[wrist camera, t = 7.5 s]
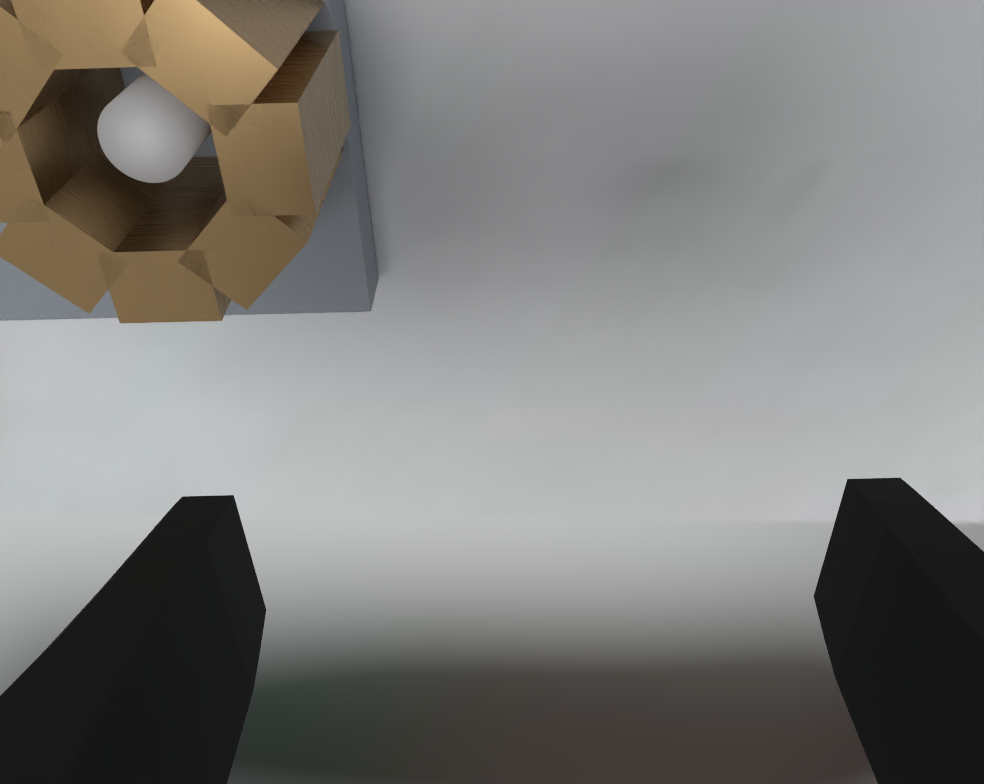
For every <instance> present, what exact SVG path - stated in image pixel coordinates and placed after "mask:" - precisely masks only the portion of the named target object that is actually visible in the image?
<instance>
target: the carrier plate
mask: <svg viewBox="0 0 984 784" xmlns="http://www.w3.org/2000/svg"><path fill="white" fill-rule="evenodd" d="M322 1H323V2H324V4H323V6H322V7H321V9H320V10H319V12H318V13H317V14H316V16H315V17H314V19H313V20H312V22H311V23H310V25H309V26H308V27H307V29H306V30H305V31H328V30H339V35H340V43H341V51H342V59H343V66H344V74H345V82H346V90H347V97H348V105H349V113H350V121H351V126H350V128H349V131H348V133H347V136H346V138H345V141H344V143H343V146H342V147H343V148H344V150H343V153H342V155H341V158H340V160H339V163H338V166H337V168H336V171H335V173H334V176H333V178H332V181H331V184H330V186H329V189H328V191H327V194H326V197H325V199H324V202H323V204H322V207H321V210H320V212H319V215H318V217H317V220H316V223H315V225H314V228H313V230H312V233H311V235H310V238H309V241H308V243H307V244H306V245H305V246H304V247H303V248H302V249H301V250H300V251H299V253H298V254H297V255H296V256H295V257H294V258H293V259H292V260H291V261H290V263H289V264H288V265H287V266H286V267H285V268H284V269H283V270H282V271H281V273H280V274H279V275H278V276H277V277H276V278H275V279H274V280H273V282H272V283H271V284H270V285H269V286H268V287H267V288H266V289H265V290H264V292H263V293H262V294H261V295H260V296H259V297H258V298H257V299H256V300H255V302H254V303H253V304H252V305H251V306H250V307H249V308H248V309H247V310H246V309H244V308H243V307H241V306H240V305H239V304H237V303H236V302H234V301H233V300H231V302H230V304H229V306H228V308H227V310H226V313H225V315H244V314H284V313H324V312H364V311H371V308H372V304H373V299H374V295H375V290H376V286H377V282H378V271H377V263H376V255H375V247H374V239H373V231H372V223H371V215H370V207H369V199H368V191H367V182H366V174H365V166H364V158H363V150H362V142H361V134H360V126H359V118H358V110H357V102H356V94H355V86H354V77H353V69H352V61H351V53H350V45H349V37H348V29H347V21H346V13H345V5H344V0H322ZM120 70H121V74H122V78H123V81H124V85H125V88H126V89H124V90H123V91H122V92H121V93H120V94H119V95H118V96H117V97H115V98H114V99H113V100H112V101H111V102H110V103H109V104H108V105H107V106H106V107H105V108H104V109H103V111H102V112H101V114H100V117H99V120H98V125H97V132H98V139H99V142H100V145H101V148H102V150H103V152H104V153H105V155H106V156H107V158H108V159H109V160H110V162H111V163H112V164H113V165H114V166H115V167H116V168H117V169H119V170H120V171H121V172H122V173H124V174H126V175H127V176H129V177H131V178H133V179H136V180H139V181H142V182H148V183H161V182H165V181H168V180H171V179H172V178H174V177H176V176H177V175H178V174H179V173H180V172H181V171H182V170H183V169H184V167H185V166H186V165H187V163H188V162H189V161H190V160H191V158H192V157H209V156H217V153H216V148H215V144H214V140H213V135H212V131H211V126H210V124H209V123H208V122H207V121H205V120H204V119H203V118H202V117H200V116H199V115H198V114H196V113H195V112H194V111H193V110H191V109H190V108H189V107H188V106H186V105H185V104H184V103H182V102H181V101H180V100H179V99H177V98H176V97H175V96H174V95H172V94H171V93H170V92H169V91H167V90H166V89H165V88H163V87H162V86H161V85H160V84H158V83H157V82H156V81H155V80H153V79H152V78H151V77H150V76H148V75H147V74H146V73H144V72H143V71H142V70H141V69H139V68H138V67H121V68H120ZM6 225H7V223H0V234H1V233H2V231H3V230H4V228H5V226H6ZM83 318H118V316H117V313H116V310H115V307H114V304H113V301H112V298H111V295H110V292H109V289H108V290H107V292H106V293H105V294H104V296H103V297H102V298H101V299H100V301H99V302H98V303H97V305H96V306H95V307H94V309H93V310H92V311H91V312H90V314H88V313H87V312H85V311H84V310H82V309H81V308H79V307H78V306H76V305H74V304H73V303H71V302H70V301H68V300H67V299H65V298H64V297H62V296H60V295H59V294H57V293H56V292H54V291H53V290H51V289H50V288H48V287H46V286H45V285H43V284H42V283H40V282H39V281H37V280H35V279H34V278H32V277H31V276H29V275H28V274H26V273H25V272H23V271H21V270H20V269H18V268H17V267H15V266H14V265H12V264H11V263H9V262H7V261H6V260H4V259H3V258H1V257H0V321H3V320H43V319H83Z"/></svg>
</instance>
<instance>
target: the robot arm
mask: <svg viewBox="0 0 984 784" xmlns="http://www.w3.org/2000/svg"><path fill="white" fill-rule="evenodd" d="M814 599H815V603H816V607H817V611H818V615H819V619H820V622H821V627H822V631H823V635H824V639H825V643H826V646H827V650H828V653H829V657H830V660H831V663H832V667H833V671H834V674H835V678H836V680H837V683H838V686H839V688H840V691H841V693H842V696H843V698H844V701H845V703H846V706H847V708H848V711H849V713H850V716H851V718H852V721H853V723H854V726H855V728H856V731H857V733H858V736H859V738H860V741H861V743H862V746H863V748H864V750H865V753H866V755H867V758H868V760H869V763H870V765H871V768H872V770H873V773H874V775H875V777H876V780H877V782H878V784H984V552H983V551H982V550H981V549H980V548H979V547H978V546H977V545H975V544H974V543H973V542H972V541H971V540H970V539H969V538H968V537H967V536H965V535H964V534H963V533H962V532H961V531H960V530H959V529H958V528H956V527H955V526H954V525H953V524H952V523H951V522H950V521H949V520H948V519H947V518H945V517H944V516H943V515H942V514H941V513H940V512H939V511H938V510H937V509H935V508H934V507H933V506H932V505H931V504H930V503H929V502H928V501H926V500H925V499H924V498H923V497H922V496H921V495H920V494H918V493H917V492H916V491H915V490H914V489H913V488H912V487H910V486H909V485H908V484H907V483H906V482H905V481H903V480H902V479H901V478H874V479H847V483H846V486H845V490H844V493H843V497H842V500H841V504H840V507H839V510H838V514H837V517H836V521H835V524H834V528H833V532H832V535H831V539H830V542H829V545H828V549H827V552H826V556H825V559H824V563H823V566H822V569H821V573H820V576H819V580H818V583H817V587H816V591H815V594H814ZM265 614H266V608H265V604H264V601H263V597H262V594H261V590H260V586H259V583H258V579H257V576H256V573H255V569H254V565H253V562H252V558H251V555H250V551H249V548H248V544H247V541H246V537H245V534H244V530H243V527H242V524H241V520H240V516H239V513H238V509H237V506H236V502H235V499H234V495H228V496H190V497H182V498H181V499H180V500H179V501H178V502H177V503H176V504H175V505H174V506H173V507H172V508H171V509H170V511H169V512H168V513H167V514H166V515H165V516H164V517H163V518H162V520H161V521H160V522H159V523H158V524H157V525H156V526H155V528H154V529H153V530H152V531H151V532H150V533H149V535H148V536H147V537H146V538H145V539H144V540H143V541H142V543H141V544H140V545H139V546H138V547H137V549H136V550H135V551H134V552H133V553H132V554H131V555H130V557H129V558H128V559H127V560H126V561H125V562H124V563H123V565H122V566H121V567H120V568H119V569H118V570H117V571H116V573H115V574H114V575H113V576H112V577H111V578H110V580H108V582H107V583H106V584H105V585H104V586H103V587H102V589H101V590H100V591H99V592H98V593H97V594H96V595H95V596H94V597H93V598H92V600H91V601H90V602H89V603H88V604H87V605H86V606H85V607H84V608H83V609H82V611H81V612H80V613H79V614H78V615H77V616H76V617H75V618H74V619H73V621H72V622H71V623H70V624H69V625H68V626H67V627H66V628H65V629H64V630H63V631H62V633H61V634H60V635H59V636H58V637H57V638H56V639H55V640H54V641H53V642H52V644H51V645H50V646H49V647H48V648H47V649H46V650H45V651H44V652H43V653H42V654H41V655H40V656H39V657H38V658H37V659H36V660H35V661H34V662H33V663H32V664H31V665H30V666H29V667H28V668H27V669H26V670H25V671H24V672H23V673H22V674H21V675H20V677H18V679H16V681H15V682H14V683H13V684H12V685H11V686H10V687H9V688H8V689H7V690H6V691H5V692H4V693H3V694H2V695H1V696H0V784H227V781H228V777H229V774H230V771H231V767H232V764H233V760H234V757H235V753H236V750H237V746H238V743H239V739H240V736H241V732H242V729H243V725H244V722H245V718H246V715H247V711H248V707H249V704H250V700H251V696H252V693H253V688H254V683H255V677H256V671H257V665H258V660H259V654H260V647H261V640H262V634H263V627H264V620H265Z"/></svg>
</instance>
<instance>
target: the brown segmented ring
mask: <svg viewBox="0 0 984 784" xmlns="http://www.w3.org/2000/svg"><path fill="white" fill-rule="evenodd" d="M323 4H324V2H323V1H322V0H0V223H7V225H6V226H5V228H4V230H3V231H2V233H1V234H0V257H1V258H3V259H4V260H6V261H7V262H9V263H11V264H12V265H14V266H15V267H17V268H18V269H20V270H21V271H23V272H25V273H26V274H28V275H29V276H31V277H32V278H34V279H35V280H37V281H39V282H40V283H42V284H43V285H45V286H46V287H48V288H50V289H51V290H53V291H54V292H56V293H57V294H59V295H60V296H62V297H64V298H65V299H67V300H68V301H70V302H71V303H73V304H74V305H76V306H78V307H79V308H81V309H82V310H84V311H85V312H87V313H88V314H90V312H91V311H92V310H93V309H94V307H95V306H96V305H97V303H98V302H99V301H100V299H101V298H102V297H103V296H104V294H105V293H106V292H107V290H108V289H109V292H110V295H111V298H112V301H113V304H114V307H115V310H116V313H117V316H118V319H119V321H120V323H146V322H187V321H222V319H223V317H224V315H225V313H226V310H227V308H228V306H229V304H230V302H231V300H233V301H234V302H236V303H237V304H239V305H240V306H241V307H243V308H244V309H246V310H247V309H248V308H249V307H250V306H251V305H252V304H253V303H254V302H255V300H256V299H257V298H258V297H259V296H260V295H261V294H262V293H263V292H264V290H265V289H266V288H267V287H268V286H269V285H270V284H271V283H272V282H273V280H274V279H275V278H276V277H277V276H278V275H279V274H280V273H281V271H282V270H283V269H284V268H285V267H286V266H287V265H288V264H289V263H290V261H291V260H292V259H293V258H294V257H295V256H296V255H297V254H298V253H299V251H300V250H301V249H302V248H303V247H304V246H305V245H306V244H307V243H308V241H309V238H310V235H311V233H312V230H313V228H314V225H315V223H316V220H317V217H318V215H319V212H320V210H321V207H322V204H323V202H324V199H325V197H326V194H327V191H328V189H329V186H330V184H331V181H332V178H333V176H334V173H335V171H336V168H337V166H338V163H339V160H340V158H341V155H342V153H343V150H344V148H343V147H342V146H343V143H344V141H345V138H346V136H347V133H348V131H349V128H350V126H351V121H350V113H349V105H348V97H347V90H346V82H345V74H344V66H343V59H342V51H341V43H340V35H339V30H328V31H305V30H306V29H307V27H308V26H309V25H310V23H311V22H312V20H313V19H314V17H315V16H316V14H317V13H318V12H319V10H320V9H321V7H322V6H323ZM121 67H138V68H139V69H141V70H142V71H143V72H144V73H146V74H147V75H148V76H150V77H151V78H152V79H153V80H155V81H156V82H157V83H158V84H160V85H161V86H162V87H163V88H165V89H166V90H167V91H169V92H170V93H171V94H172V95H174V96H175V97H176V98H177V99H179V100H180V101H181V102H182V103H184V104H185V105H186V106H188V107H189V108H190V109H191V110H193V111H194V112H195V113H196V114H198V115H199V116H200V117H202V118H203V119H204V120H205V121H207V122H208V123H209V124H210V126H211V131H212V135H213V140H214V144H215V148H216V153H217V156H209V157H192V158H191V160H190V161H189V162H188V163H187V165H186V166H185V167H184V169H183V170H182V171H181V172H180V173H179V174H178V175H177V176H176V177H174V178H172V179H171V180H168V181H165V182H161V183H148V182H142V181H139V180H136V179H133V178H131V177H129V176H127V175H126V174H124V173H122V172H121V171H120V170H119V169H117V168H116V167H115V166H114V165H113V164H112V163H111V162H110V160H109V159H108V158H107V156H106V155H105V153H104V152H103V150H102V148H101V145H100V142H99V139H98V132H97V125H98V120H99V117H100V114H101V112H102V111H103V109H104V108H105V107H106V106H107V105H108V104H109V103H110V102H111V101H112V100H113V99H114V98H115V97H117V96H118V95H119V94H120V93H121V92H122V91H123V90H124V89H126V88H125V85H124V81H123V78H122V74H121V70H120V68H121Z"/></svg>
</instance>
